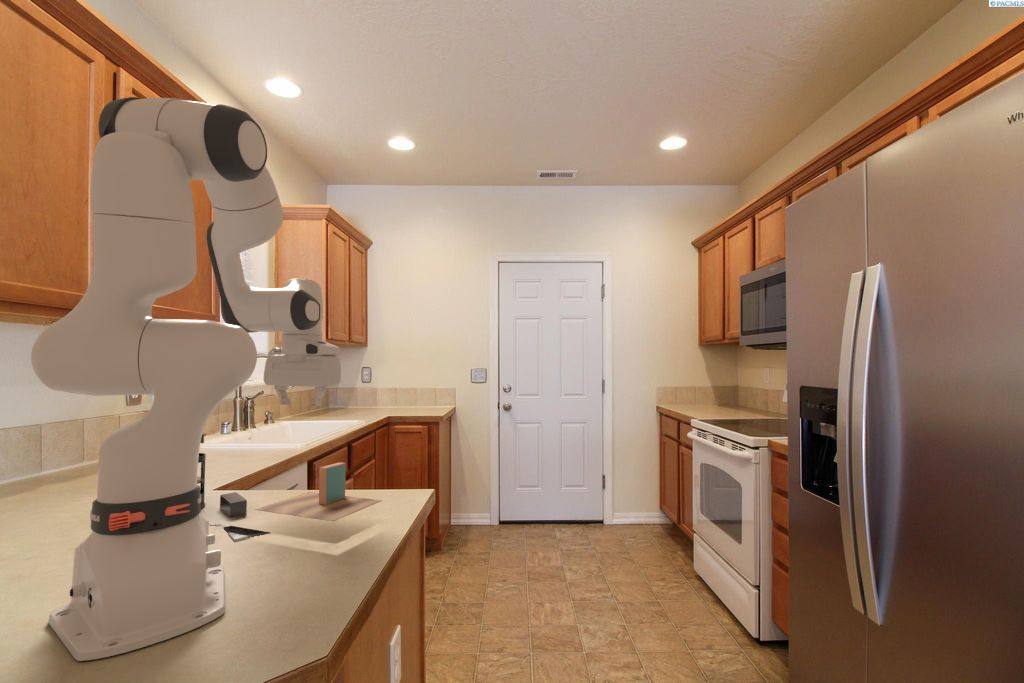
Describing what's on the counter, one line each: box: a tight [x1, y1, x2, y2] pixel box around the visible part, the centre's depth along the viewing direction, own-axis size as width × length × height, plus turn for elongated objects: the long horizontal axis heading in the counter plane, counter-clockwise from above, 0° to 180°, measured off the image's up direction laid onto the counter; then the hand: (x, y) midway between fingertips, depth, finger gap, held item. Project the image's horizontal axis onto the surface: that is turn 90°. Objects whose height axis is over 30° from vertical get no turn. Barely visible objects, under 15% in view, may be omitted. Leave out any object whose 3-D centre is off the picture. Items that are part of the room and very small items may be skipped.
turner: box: [219, 491, 271, 542], centre depth 92 cm, size 20×6×4 cm, turn 44°
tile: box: [318, 462, 346, 504], centre depth 104 cm, size 2×6×8 cm, turn 158°
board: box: [254, 491, 383, 522], centre depth 100 cm, size 22×15×2 cm
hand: (300, 405), depth 107 cm, fingers open, 8 cm apart
